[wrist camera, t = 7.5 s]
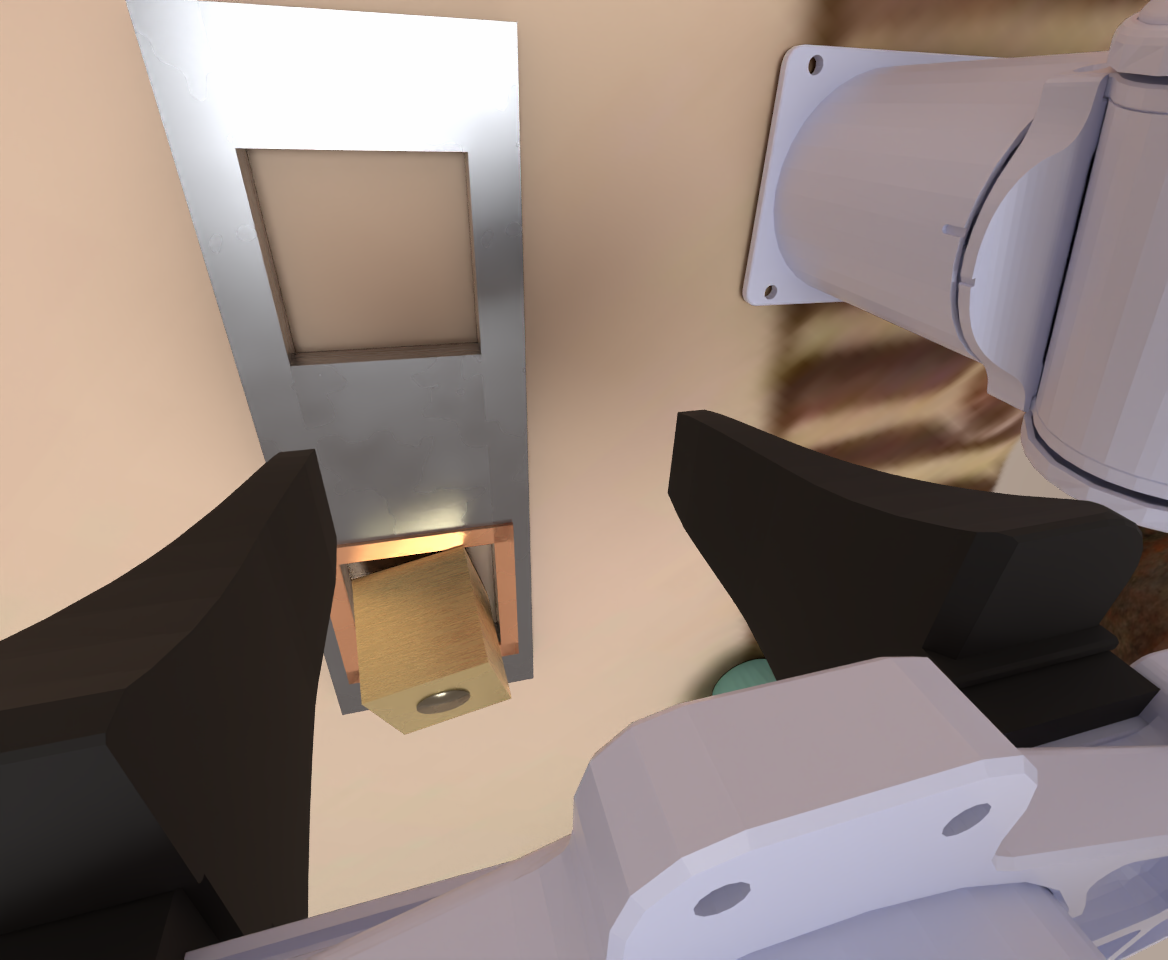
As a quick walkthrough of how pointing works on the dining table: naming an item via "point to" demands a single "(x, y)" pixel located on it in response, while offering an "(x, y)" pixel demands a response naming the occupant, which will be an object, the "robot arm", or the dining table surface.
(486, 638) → the brass cube with hole
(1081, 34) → the dining table surface
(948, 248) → the robot arm
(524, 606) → the rail
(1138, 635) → the pitcher
